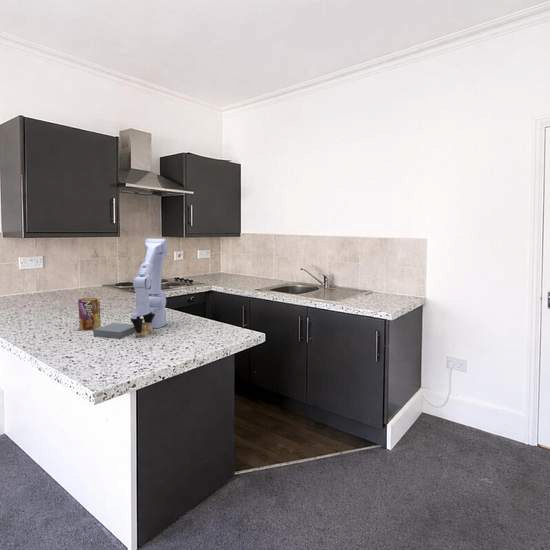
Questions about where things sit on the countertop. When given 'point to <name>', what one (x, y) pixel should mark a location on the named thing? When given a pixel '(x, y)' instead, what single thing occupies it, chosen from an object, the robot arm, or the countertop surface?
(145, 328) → the tan cube
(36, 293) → the countertop surface
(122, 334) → the base block
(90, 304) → the candy box
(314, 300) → the countertop surface
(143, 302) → the robot arm
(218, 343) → the countertop surface
